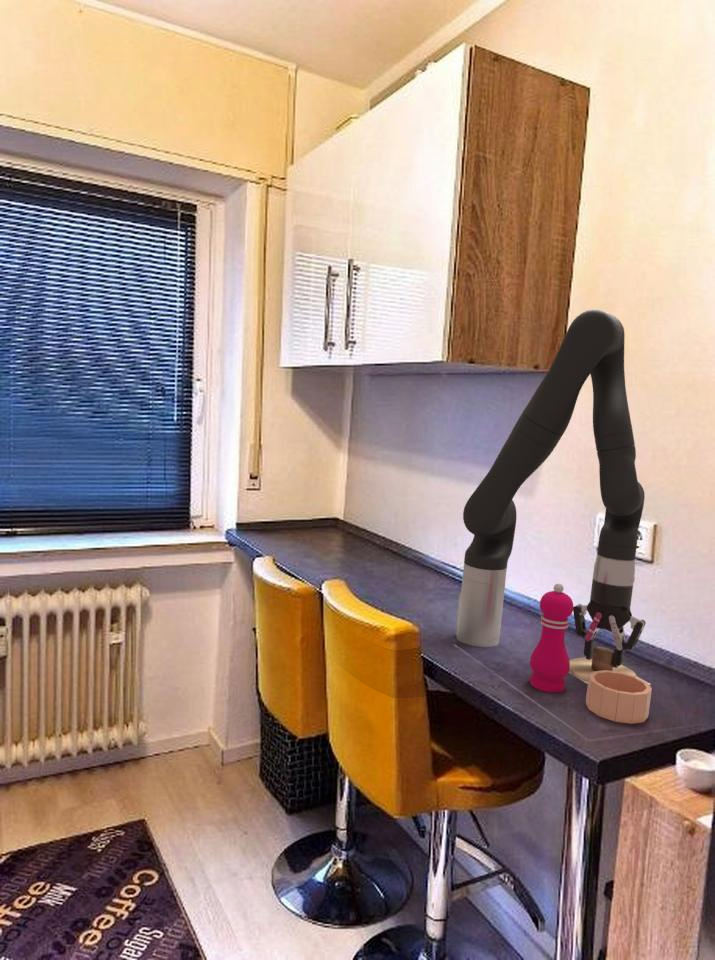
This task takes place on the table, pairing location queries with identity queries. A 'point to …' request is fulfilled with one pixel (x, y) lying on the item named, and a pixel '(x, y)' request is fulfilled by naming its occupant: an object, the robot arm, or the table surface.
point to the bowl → (618, 696)
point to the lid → (596, 664)
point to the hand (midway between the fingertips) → (602, 662)
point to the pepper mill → (552, 642)
